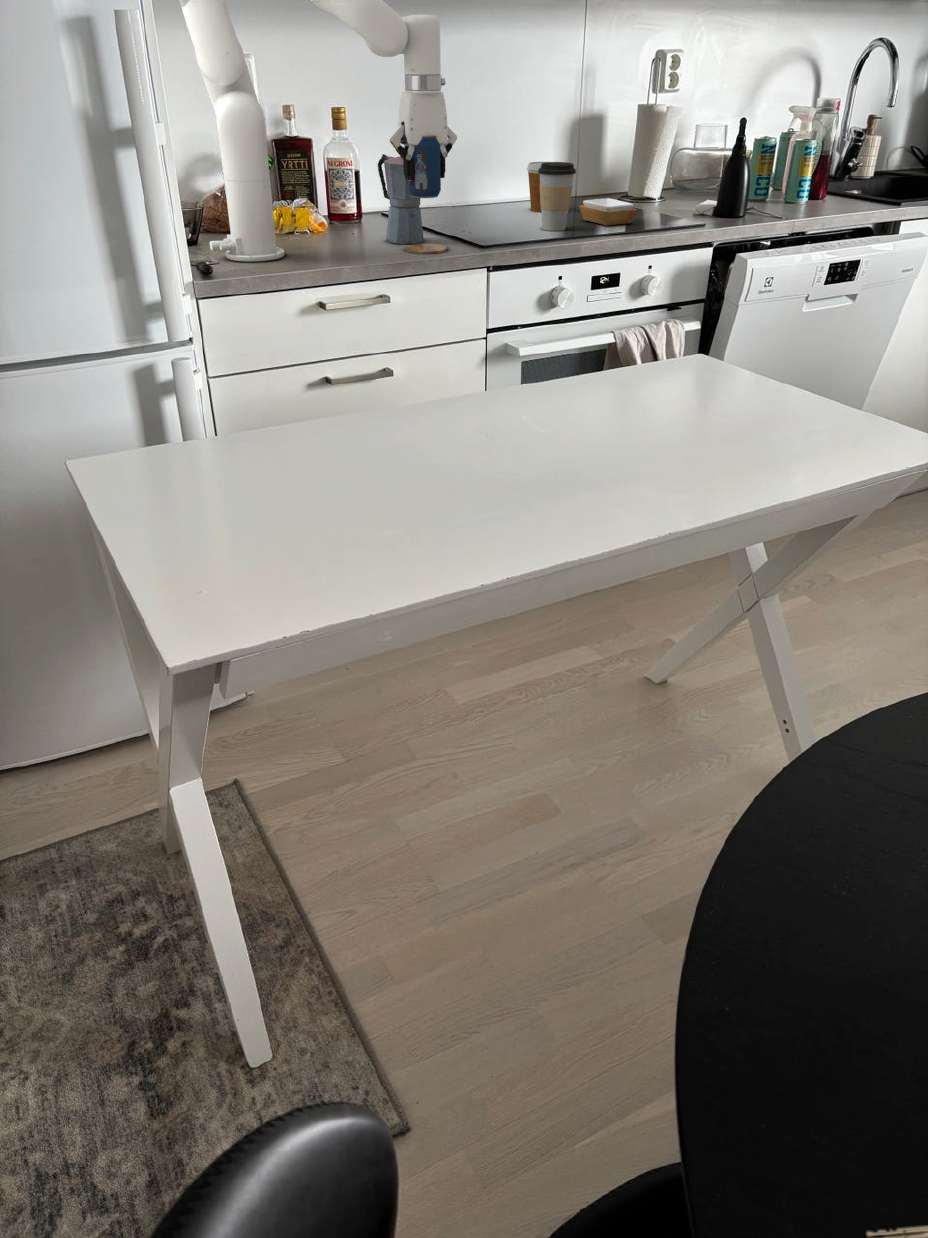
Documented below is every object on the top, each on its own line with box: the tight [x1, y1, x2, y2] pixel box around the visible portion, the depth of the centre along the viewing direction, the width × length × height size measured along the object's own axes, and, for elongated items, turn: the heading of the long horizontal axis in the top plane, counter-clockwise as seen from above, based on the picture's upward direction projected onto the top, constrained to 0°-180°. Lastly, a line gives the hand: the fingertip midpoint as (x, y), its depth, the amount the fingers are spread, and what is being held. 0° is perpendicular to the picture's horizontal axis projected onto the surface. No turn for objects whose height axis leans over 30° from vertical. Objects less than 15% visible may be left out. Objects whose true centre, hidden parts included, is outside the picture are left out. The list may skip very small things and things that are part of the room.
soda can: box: [409, 136, 442, 199], centre depth 202 cm, size 7×7×12 cm
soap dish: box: [578, 197, 638, 227], centre depth 243 cm, size 12×10×5 cm
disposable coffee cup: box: [526, 161, 546, 213], centre depth 259 cm, size 10×10×12 cm
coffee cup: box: [538, 161, 577, 232], centre depth 232 cm, size 9×9×15 cm
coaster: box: [405, 243, 447, 255], centre depth 211 cm, size 9×9×1 cm
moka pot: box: [377, 153, 425, 245], centre depth 215 cm, size 10×15×20 cm, turn 53°
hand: (424, 177), depth 203 cm, fingers closed on soda can, 7 cm apart
